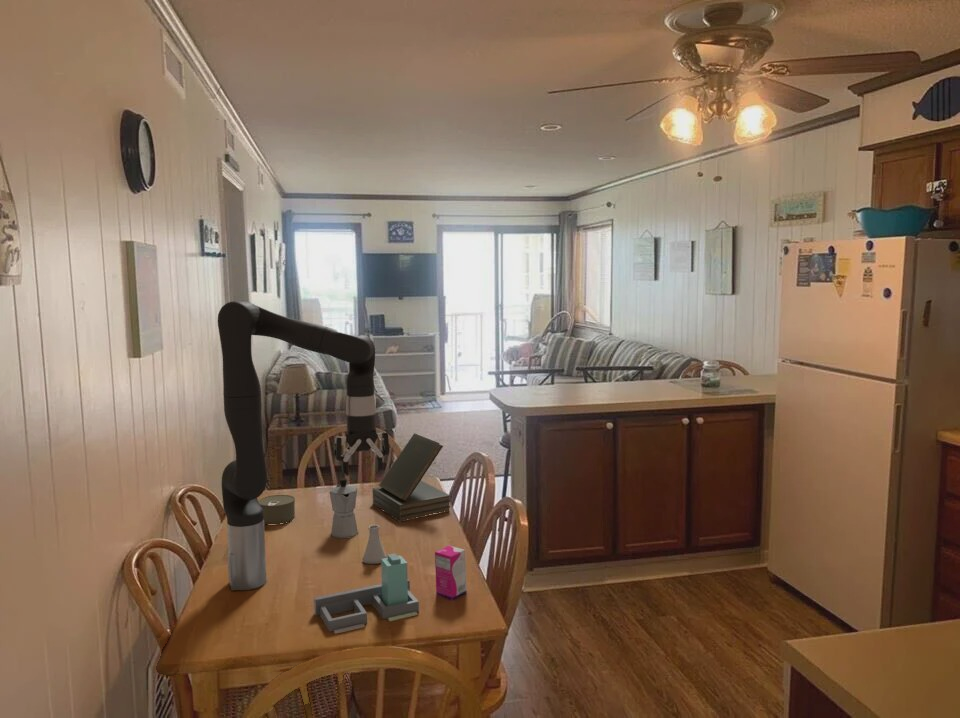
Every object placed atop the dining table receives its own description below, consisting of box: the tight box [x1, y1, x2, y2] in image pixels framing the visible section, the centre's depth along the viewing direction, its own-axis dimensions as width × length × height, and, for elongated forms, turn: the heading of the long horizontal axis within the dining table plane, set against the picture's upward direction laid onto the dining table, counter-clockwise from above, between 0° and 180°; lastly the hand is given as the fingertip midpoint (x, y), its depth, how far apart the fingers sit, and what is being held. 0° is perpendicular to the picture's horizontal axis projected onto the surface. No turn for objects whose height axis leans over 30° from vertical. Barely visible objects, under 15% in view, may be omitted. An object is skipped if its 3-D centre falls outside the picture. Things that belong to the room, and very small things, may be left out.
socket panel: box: [313, 579, 420, 635], centre depth 165 cm, size 24×12×4 cm, turn 116°
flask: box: [361, 524, 388, 565], centre depth 197 cm, size 7×7×10 cm
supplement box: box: [434, 545, 467, 601], centre depth 175 cm, size 6×6×12 cm
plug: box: [380, 552, 409, 607], centre depth 168 cm, size 5×5×13 cm
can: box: [258, 494, 296, 525], centre depth 233 cm, size 12×12×7 cm
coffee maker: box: [329, 478, 359, 539], centre depth 219 cm, size 15×9×18 cm, turn 22°
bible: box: [372, 432, 451, 522], centre depth 244 cm, size 23×20×25 cm
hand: (362, 473), depth 179 cm, fingers open, 8 cm apart
